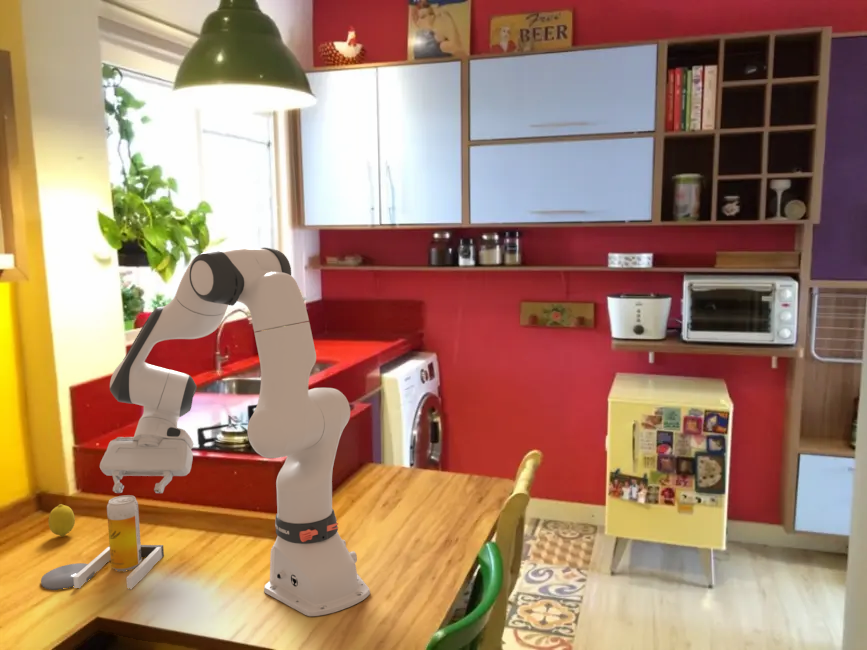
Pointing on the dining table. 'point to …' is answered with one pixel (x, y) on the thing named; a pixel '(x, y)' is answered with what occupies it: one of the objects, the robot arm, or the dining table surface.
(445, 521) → the dining table surface
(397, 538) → the dining table surface
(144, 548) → the channel
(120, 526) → the beer can
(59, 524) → the lemon
